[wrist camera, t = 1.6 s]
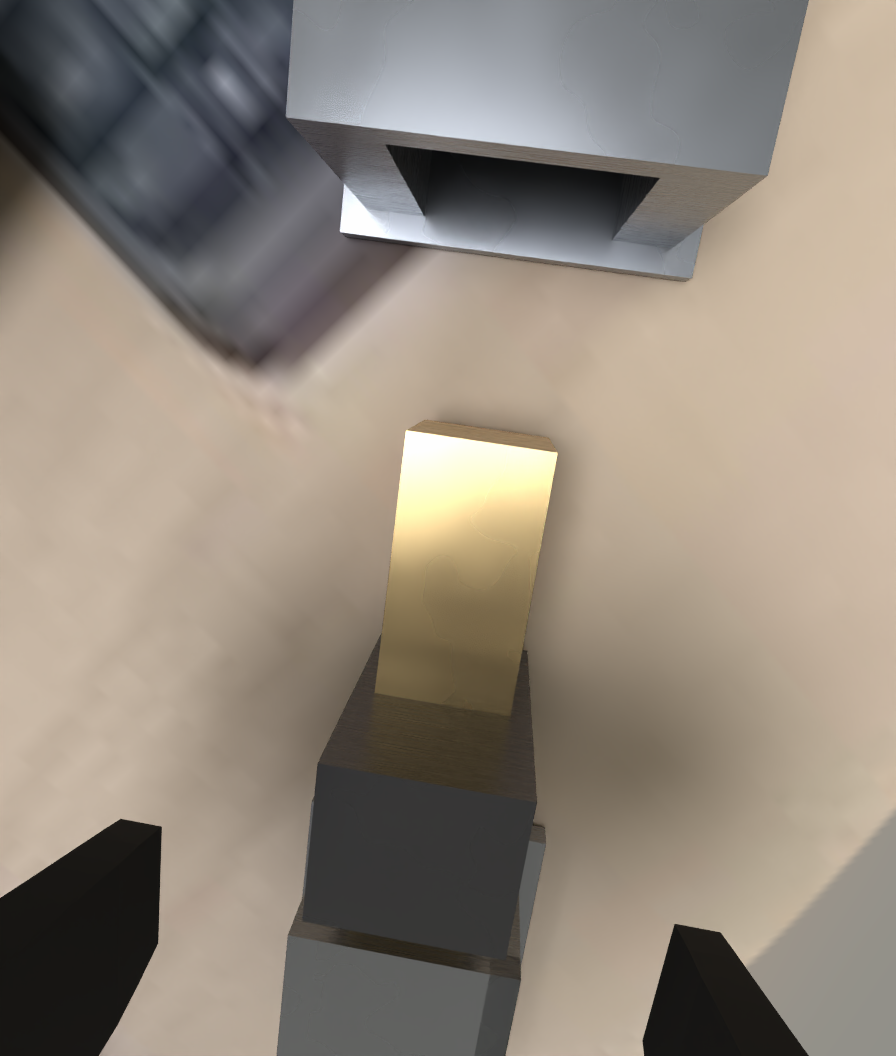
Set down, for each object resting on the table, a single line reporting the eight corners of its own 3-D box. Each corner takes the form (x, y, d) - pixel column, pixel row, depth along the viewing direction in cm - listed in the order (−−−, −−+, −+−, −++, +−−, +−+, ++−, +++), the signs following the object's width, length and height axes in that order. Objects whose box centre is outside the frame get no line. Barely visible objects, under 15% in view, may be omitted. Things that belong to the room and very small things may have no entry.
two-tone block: (455, 1043, 18) (433, 1325, 13) (336, 1019, 18) (265, 1286, 13) (565, 438, 14) (600, 478, 9) (410, 415, 14) (349, 441, 9)
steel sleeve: (499, 1048, 19) (496, 1255, 14) (296, 1007, 19) (232, 1197, 15) (544, 827, 17) (556, 987, 12) (318, 786, 17) (253, 928, 13)
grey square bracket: (685, 281, 13) (797, 223, 8) (345, 236, 14) (246, 153, 9) (758, -61, 12) (952, -397, 7) (376, -99, 12) (279, -445, 7)
